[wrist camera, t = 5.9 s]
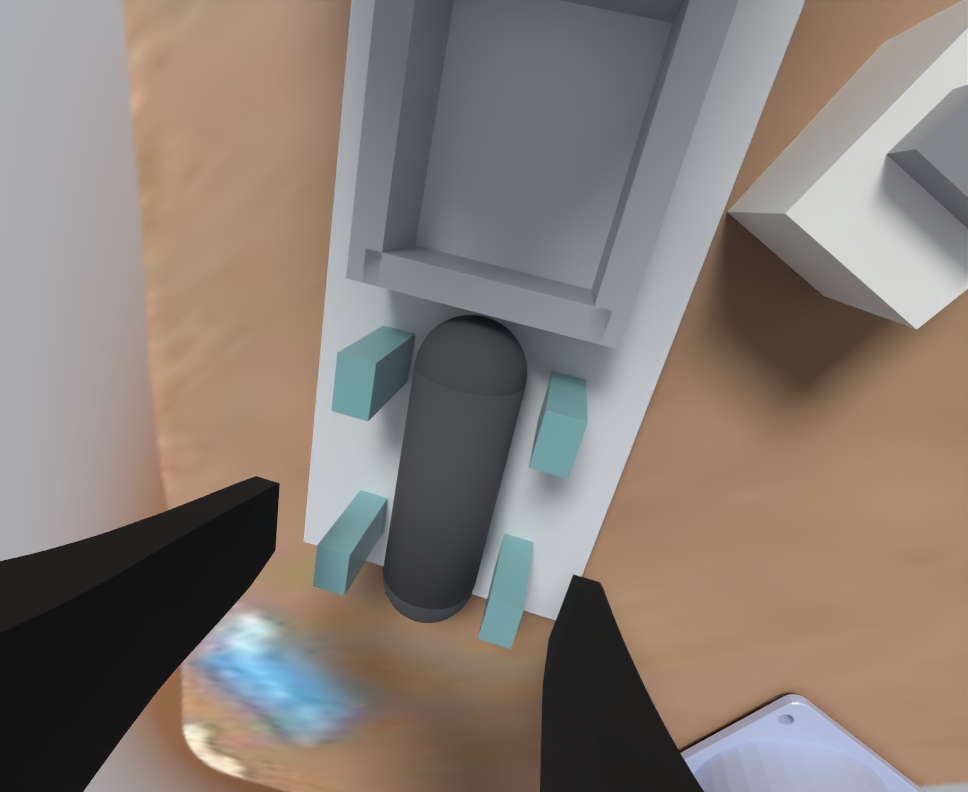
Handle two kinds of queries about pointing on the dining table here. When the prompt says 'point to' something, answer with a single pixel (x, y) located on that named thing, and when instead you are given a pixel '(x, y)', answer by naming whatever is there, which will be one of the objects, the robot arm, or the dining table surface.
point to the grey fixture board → (523, 247)
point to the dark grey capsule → (451, 464)
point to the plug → (879, 181)
